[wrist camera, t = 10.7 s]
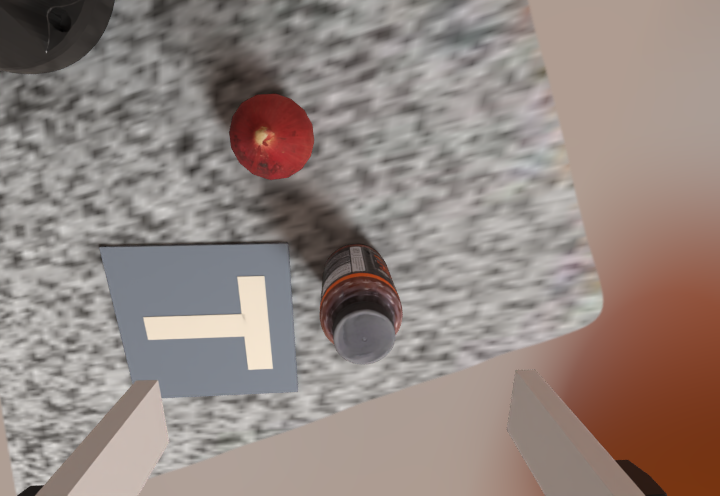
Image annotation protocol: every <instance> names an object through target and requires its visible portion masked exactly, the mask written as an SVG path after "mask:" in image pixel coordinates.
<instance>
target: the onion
mask: <svg viewBox="0 0 720 496" xmlns="http://www.w3.org/2000/svg"><path fill="white" fill-rule="evenodd" d="M229 134H230V142H231V148H232V150H233V152H234V154H235V156H236V157H237V159H238V161H239V163H240V164H242V165H243V166H244V167H245V168H246V169H247V170H249V171H250V172H251V173H252V174H254V175H257V176H260V177H263V178H266V179H269V180H273V179H281V178H288V177H290V176H291V175H293V174H295V173H296V172H298V171H299V170H301V169H302V168H303V166H304V165H305V164H306V162H307V161H308V159H309V158H310V156H311V153H312V148H313V144H314V135H313V127H312V123H311V122H310V120H309V118H308V116H307V114H306V112H305V111H304V109H303V108H301V107H300V106H299V105H298V104H296V103H295V102H294V101H293V100H292V99H290V98H287V97H284V96H281V95H278V94H261V95H255V96H254V97H252V98H250V99H248V100H246V101H244V102H242V103H241V105H240V106H239V108H238V109H237V111H236V112H235V114H234V115H233V117H232V122H231V126H230V131H229Z"/></svg>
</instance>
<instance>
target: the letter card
mask: <svg viewBox="0 0 720 496" xmlns="http://www.w3.org/2000/svg"><path fill="white" fill-rule="evenodd" d="M99 248H100V253H101V257H102V261H103V265H104V269H105V273H106V277H107V281H108V285H109V289H110V293H111V297H112V301H113V306H114V310H115V314H116V318H117V322H118V326H119V330H120V334H121V338H122V342H123V346H124V350H125V355H126V359H127V363H128V367H129V371H130V375H131V379H132V383H133V384H134V382H135V381H138V380H158V382H159V388H160V393H161V398H175V397H196V396H218V395H240V394H261V393H283V392H298V382H297V367H296V352H295V337H294V322H293V306H292V291H291V276H290V261H289V246H288V243H255V244H203V245H151V246H101V247H99Z"/></svg>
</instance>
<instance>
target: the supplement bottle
mask: <svg viewBox="0 0 720 496" xmlns="http://www.w3.org/2000/svg"><path fill="white" fill-rule="evenodd" d="M402 315H403V314H402V305H401V302H400V299H399V296H398V293H397V291H396V288H395V286H394V283H393V281H392V278H391V275H390V273H389V270H388V267H387V265H386V263H385V261H384V259H383V258H382V257H381V255H380V254H379V253H378V252H376V251H375V250H374V249H372V248H370V247H368V246H365V245H360V244H353V245H347V246H344V247H342V248H340V249H338V250H337V251H335V252H334V253H333V254H332V255H331V256H330V258H329V259H328V261H327V263H326V265H325V268H324V273H323V282H322V293H321V303H320V322H321V326H322V329H323V331H324V333H325V335H326V337H327V338H328V339H329V340H330V341H331V342H332V343H333V344H334V346H335V348H336V350H337V352H338V353H339V354H340V355H341V356H342V357H343V358H344V359H345V360H348V361H349V362H352V363H355V364H371V363H374V362H377V361H379V360H381V359H382V358H384V357H385V356H386V355H387V354H388V353H389V352H390V351H391V349H392V348H393V345H394V342H395V335H396V334H397V332H398V330H399V328H400V326H401V322H402Z"/></svg>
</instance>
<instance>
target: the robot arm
mask: <svg viewBox="0 0 720 496" xmlns="http://www.w3.org/2000/svg"><path fill="white" fill-rule="evenodd" d="M113 5H114V0H0V70H1V71H6V72H12V73H19V74H41V73H48V72H53V71H56V70H60V69H62V68H65V67H67V66H69V65H71V64H73V63H75V62H76V61H78V60H80V59H81V58H82V57H84V56H85V55H86V54H87V53H88V52H89V51H90V50H91V49H92V48H93V47H94V46H95V45H96V43H97V42H98V41H99V39H100V38H101V36H102V34H103V33H104V31H105V29H106V27H107V25H108V22H109V19H110V17H111V13H112V10H113ZM507 431H508V433H509V434H510V436H511V438H512V440H513V441H514V443H515V445H516V446H517V448H518V450H519V452H520V453H521V455H522V457H523V458H524V460H525V462H526V464H527V465H528V467H529V469H530V470H531V472H532V473H533V476H534V477H535V479H536V481H537V482H538V484H539V486H540V487H541V489H542V491H543V493H544V494H545V496H667V494H666V493H665V492H664V491H663V490H662V488H661V487H660V486H659V485H658V484H657V483H656V482H655V481H654V480H653V479H652V478H651V477H650V476H649V475H648V474H647V473H645V472H644V471H642V470H641V469H640V468H638V467H637V466H636V465H634V464H633V463H631V462H630V461H629V460H614V459H613V458H612V457H611V456H610V455H609V453H608V452H607V451H606V450H605V449H604V448H603V447H602V445H601V444H600V443H599V442H598V441H597V440H596V439H595V437H594V436H593V435H592V434H591V433H590V432H589V431H588V429H587V428H586V427H585V426H584V425H583V424H582V422H580V420H579V419H578V418H577V417H576V416H575V414H574V413H573V412H572V411H571V410H570V409H569V408H568V407H567V406H566V404H565V403H564V402H563V401H562V400H561V398H560V397H559V396H558V395H557V394H556V393H555V392H554V391H553V390H552V388H551V387H550V386H549V385H548V384H547V383H546V381H545V380H544V379H543V378H542V377H541V376H540V374H539V373H538V372H537V371H536V370H516V371H515V378H514V384H513V391H512V399H511V405H510V412H509V418H508V426H507ZM168 443H169V438H168V433H167V427H166V421H165V416H164V410H163V404H162V399H161V393H160V388H159V382H158V380H138V381H135V382H134V384H133V385H132V386H131V387H130V388H129V389H128V390H127V391H126V393H125V394H124V395H123V396H122V397H121V398H120V399H119V401H118V402H117V403H116V404H115V405H114V406H113V407H112V409H111V410H110V411H109V412H108V413H107V414H106V415H105V417H104V418H103V419H102V420H101V421H100V422H99V423H98V425H97V426H96V427H95V428H94V429H93V430H92V431H91V433H90V434H89V435H88V436H87V437H86V438H85V439H84V440H83V442H82V443H81V444H80V445H79V446H78V447H77V448H76V450H75V451H74V452H73V453H72V454H71V455H70V456H69V458H68V459H67V460H66V461H65V462H64V463H63V464H62V466H61V467H60V468H59V469H58V470H57V471H56V472H55V474H54V475H53V476H52V477H51V478H50V479H49V480H48V482H47V483H46V484H45V485H41V486H30V487H28V488H27V489H26V490H24V491H23V492H22V493H20V494H19V495H18V496H138V495H139V493H140V492H141V490H142V488H143V486H144V485H145V483H146V481H147V480H148V478H149V476H150V474H151V473H152V471H153V469H154V467H155V466H156V464H157V462H158V461H159V459H160V457H161V455H162V454H163V452H164V450H165V449H166V447H167V445H168Z"/></svg>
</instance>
